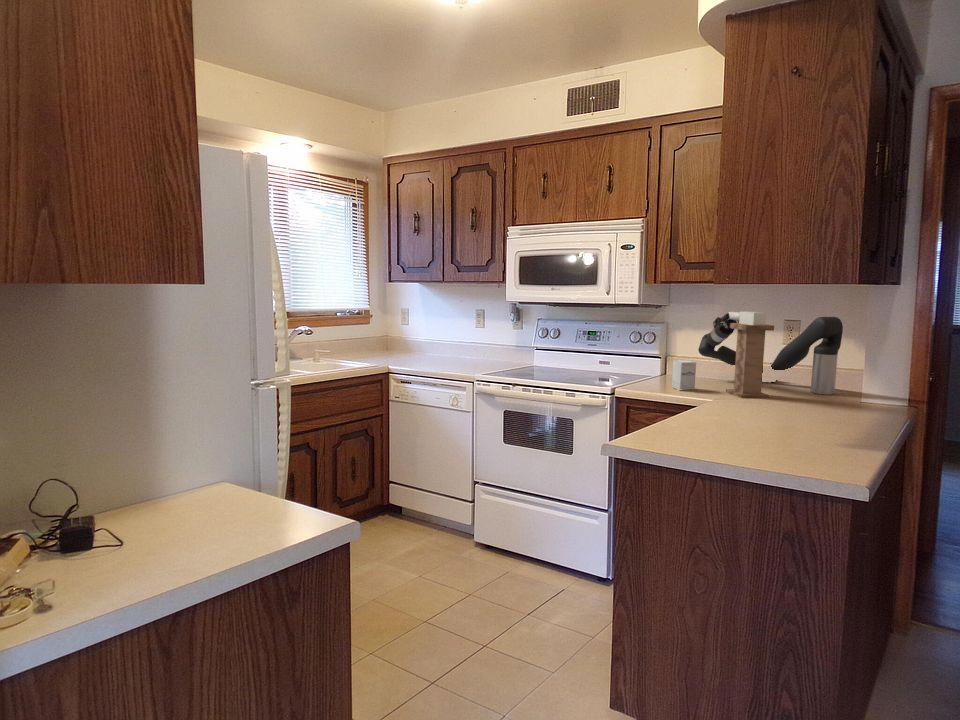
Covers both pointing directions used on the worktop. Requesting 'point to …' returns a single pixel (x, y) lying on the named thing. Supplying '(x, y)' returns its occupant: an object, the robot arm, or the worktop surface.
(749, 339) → the brown pedestal
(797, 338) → the robot arm
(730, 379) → the worktop surface
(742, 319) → the white square bar
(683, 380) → the supplement box
